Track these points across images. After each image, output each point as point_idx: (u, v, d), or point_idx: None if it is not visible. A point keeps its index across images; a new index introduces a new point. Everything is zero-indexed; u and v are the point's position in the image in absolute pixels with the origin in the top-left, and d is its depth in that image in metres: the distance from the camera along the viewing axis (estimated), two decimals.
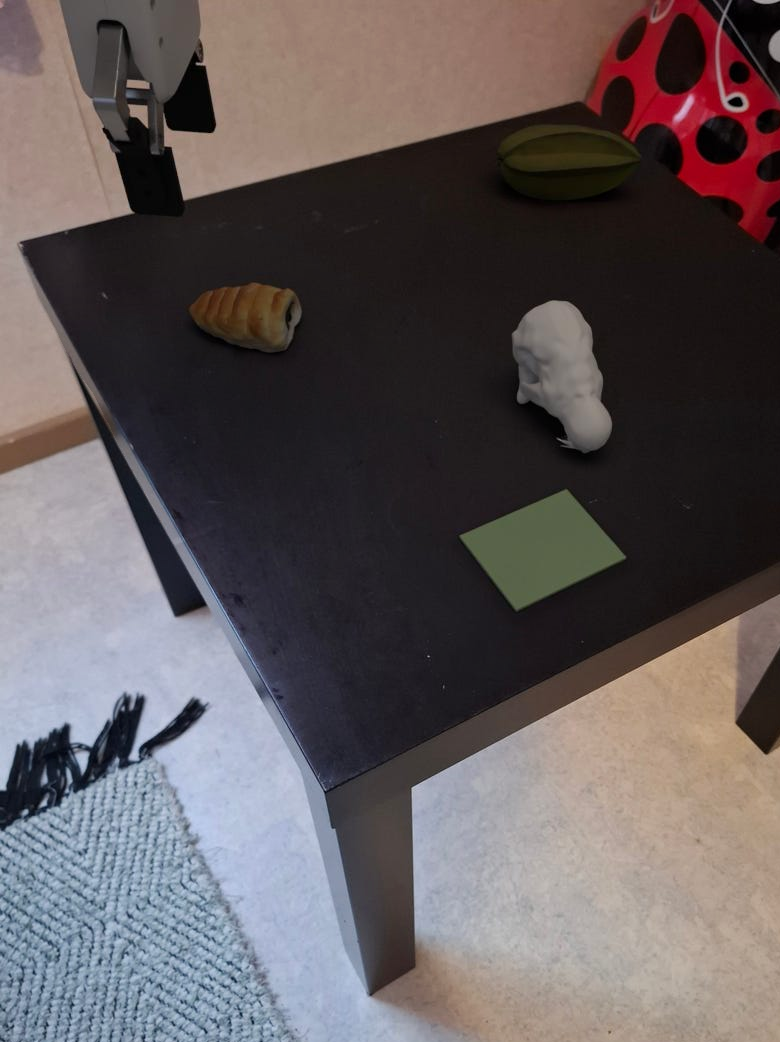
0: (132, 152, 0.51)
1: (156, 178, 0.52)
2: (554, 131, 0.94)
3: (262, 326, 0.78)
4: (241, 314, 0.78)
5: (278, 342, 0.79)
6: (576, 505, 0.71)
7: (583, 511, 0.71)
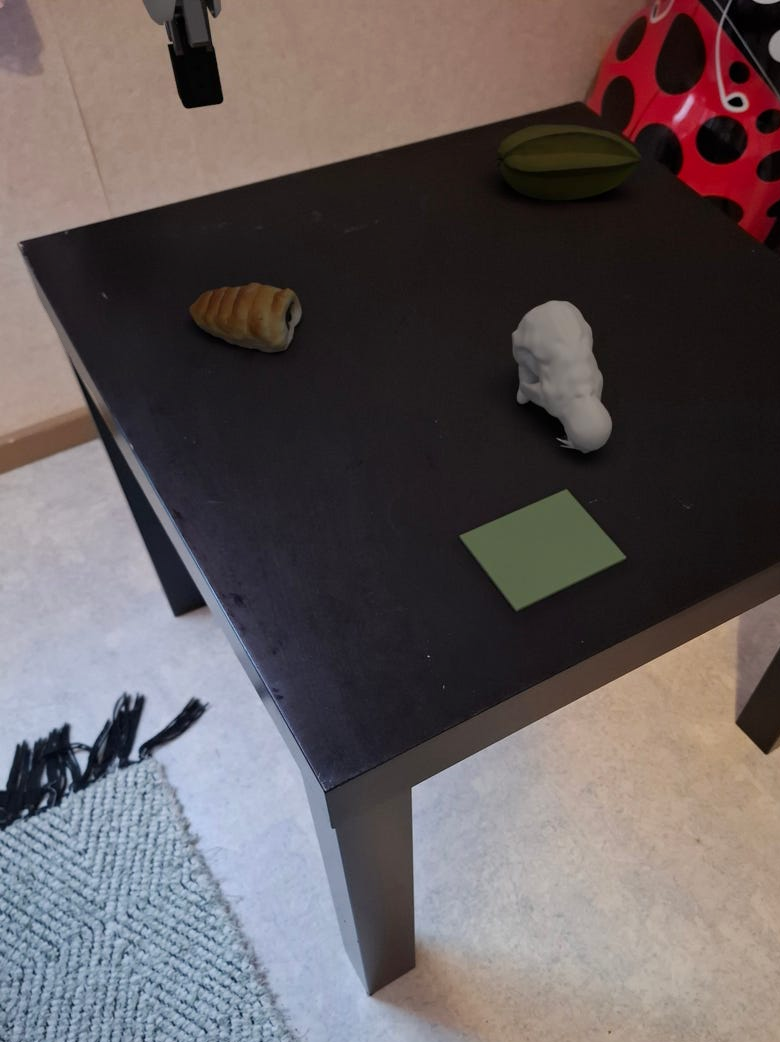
0: (193, 52, 0.67)
1: (208, 72, 0.69)
2: (554, 131, 0.94)
3: (262, 326, 0.78)
4: (241, 314, 0.78)
5: (278, 342, 0.79)
6: (576, 505, 0.71)
7: (583, 511, 0.71)
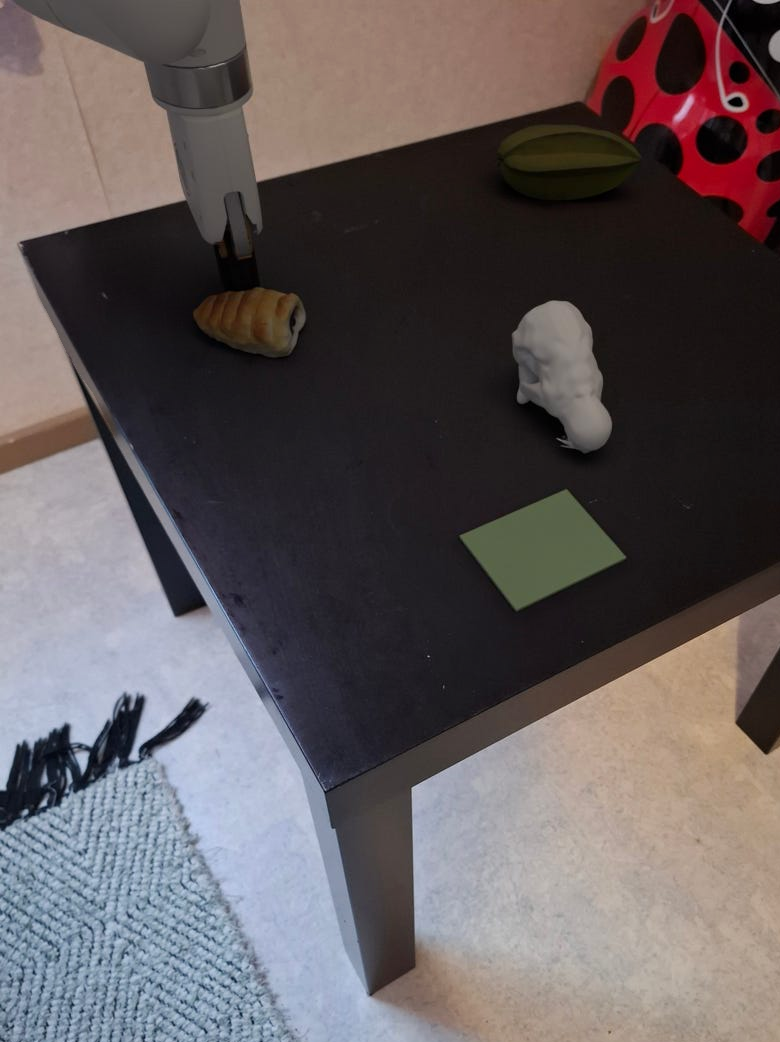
0: (236, 255, 0.78)
1: (248, 267, 0.80)
2: (554, 131, 0.94)
3: (265, 331, 0.77)
4: (245, 319, 0.77)
5: (282, 347, 0.78)
6: (576, 505, 0.71)
7: (583, 511, 0.71)
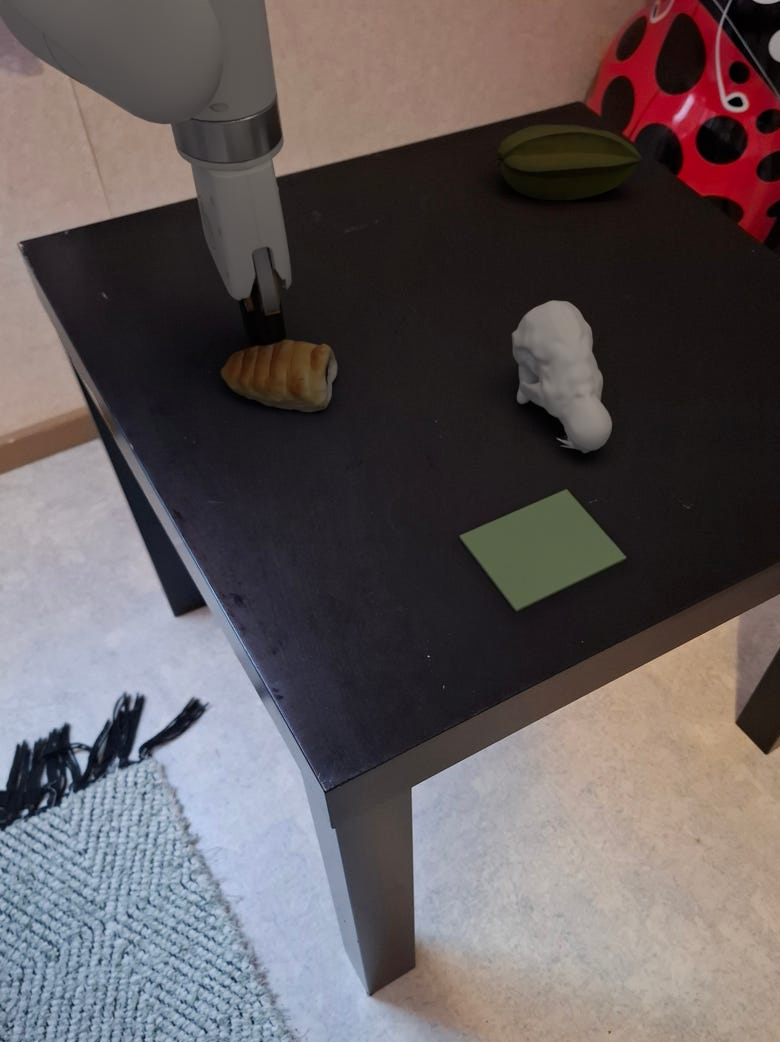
0: (262, 308, 0.74)
1: (274, 320, 0.76)
2: (554, 131, 0.94)
3: (303, 387, 0.74)
4: (280, 375, 0.74)
5: (320, 402, 0.75)
6: (576, 505, 0.71)
7: (583, 511, 0.71)
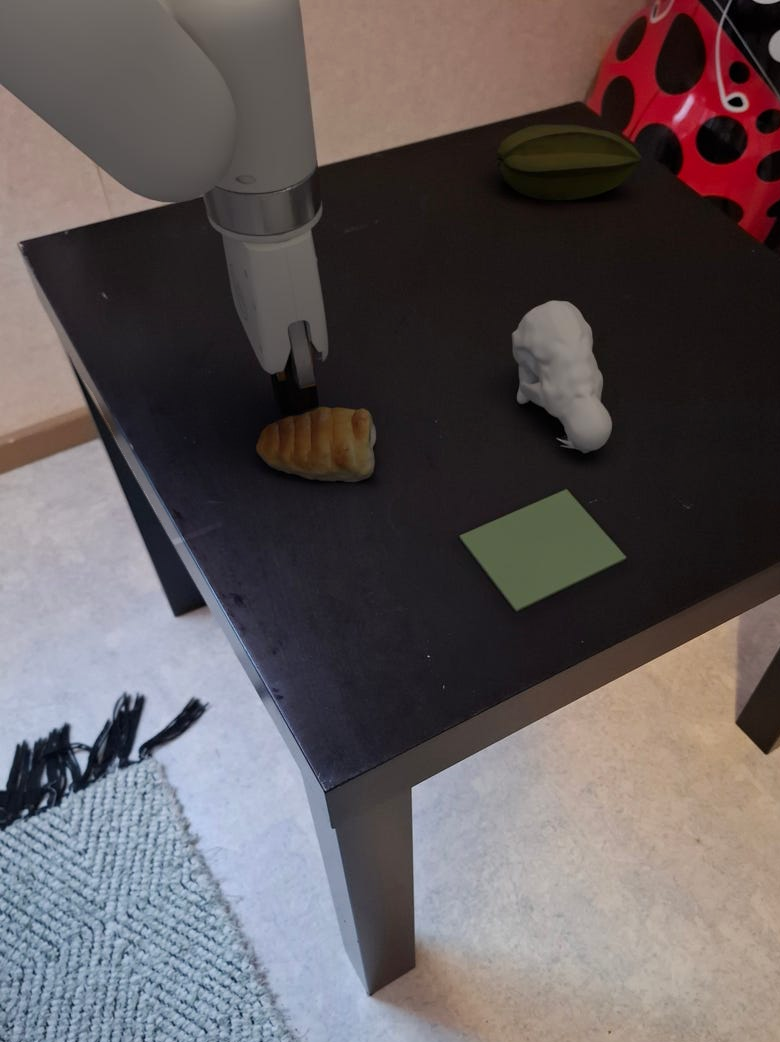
0: None
1: (307, 388, 0.71)
2: (554, 131, 0.94)
3: (349, 457, 0.70)
4: (324, 448, 0.69)
5: (367, 471, 0.71)
6: (576, 505, 0.71)
7: (583, 511, 0.71)
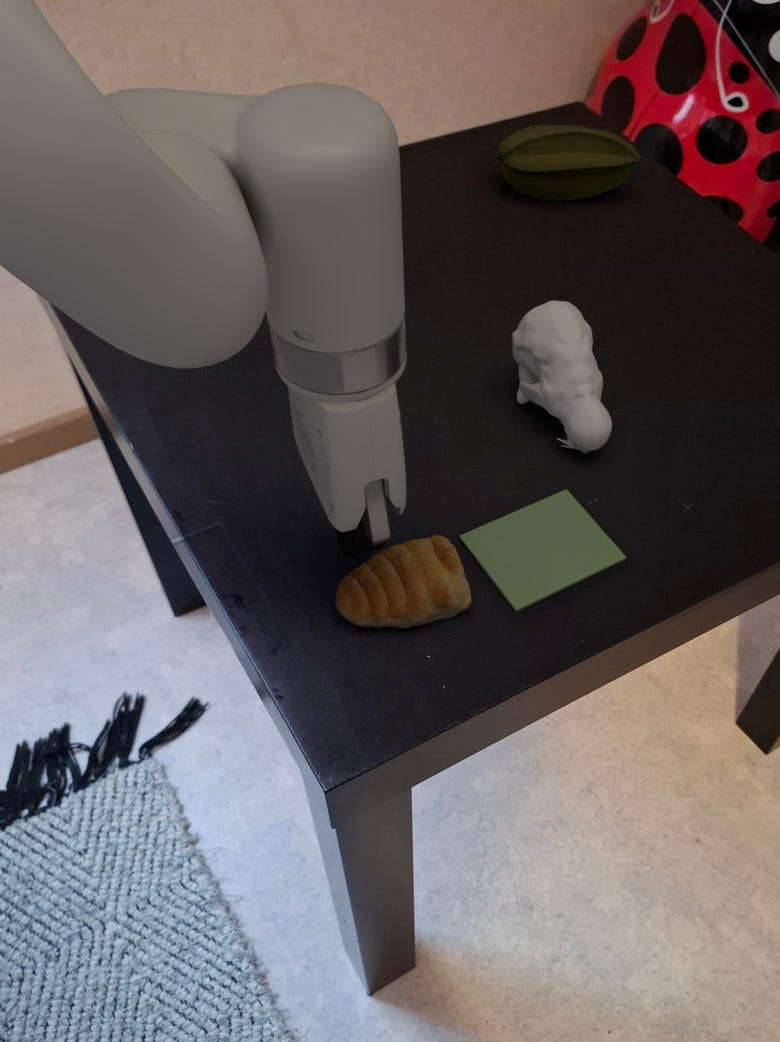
0: None
1: None
2: (554, 131, 0.94)
3: (450, 595, 0.63)
4: (422, 593, 0.62)
5: (468, 603, 0.64)
6: (576, 505, 0.71)
7: (583, 511, 0.71)
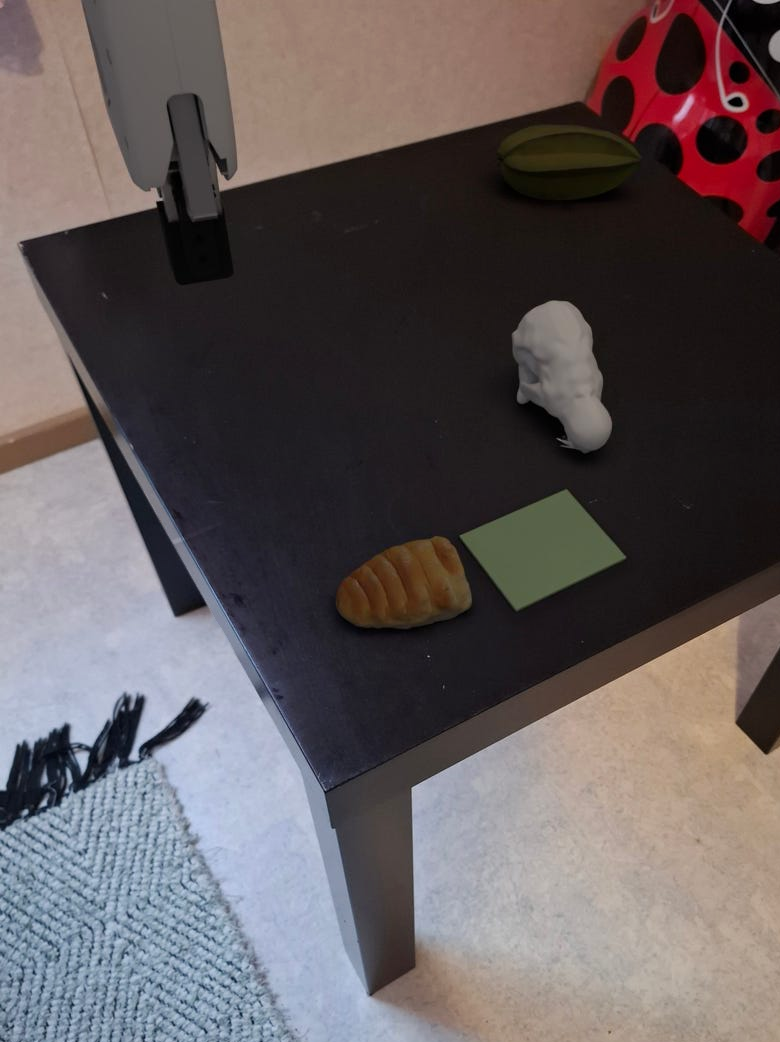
0: None
1: (214, 241, 0.48)
2: (554, 131, 0.94)
3: (450, 597, 0.63)
4: (423, 594, 0.62)
5: (469, 604, 0.64)
6: (576, 505, 0.71)
7: (583, 511, 0.71)
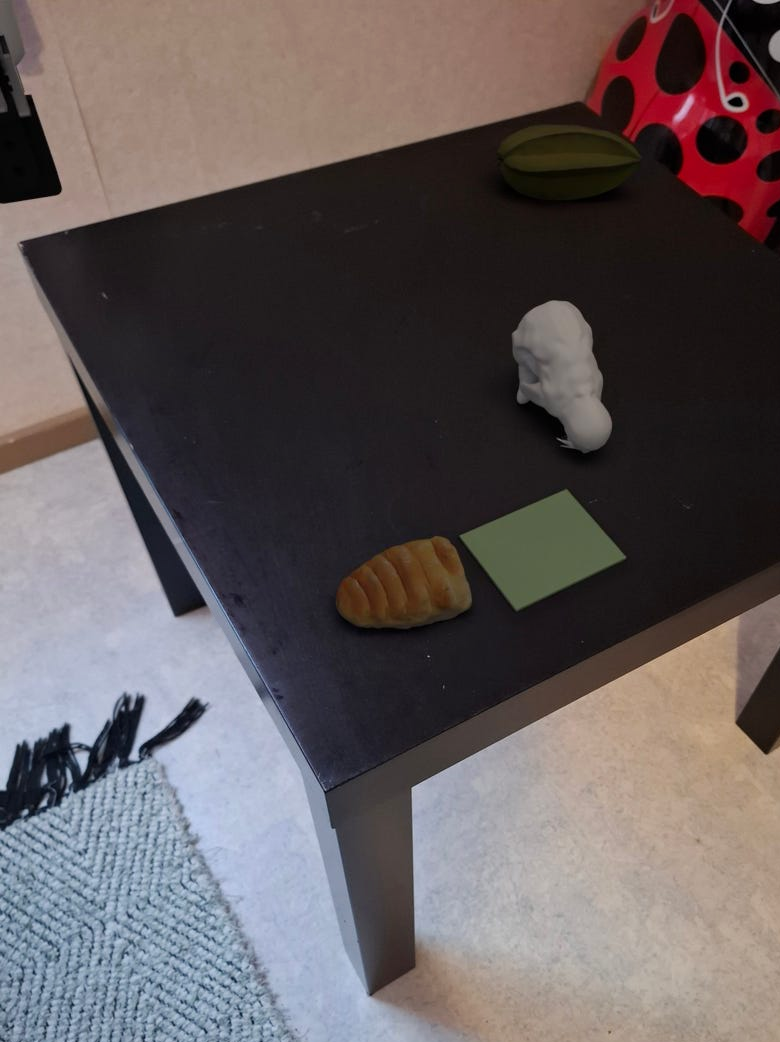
0: None
1: (27, 148, 0.42)
2: (554, 131, 0.94)
3: (450, 596, 0.63)
4: (423, 594, 0.62)
5: (469, 604, 0.64)
6: (576, 505, 0.71)
7: (583, 511, 0.71)
